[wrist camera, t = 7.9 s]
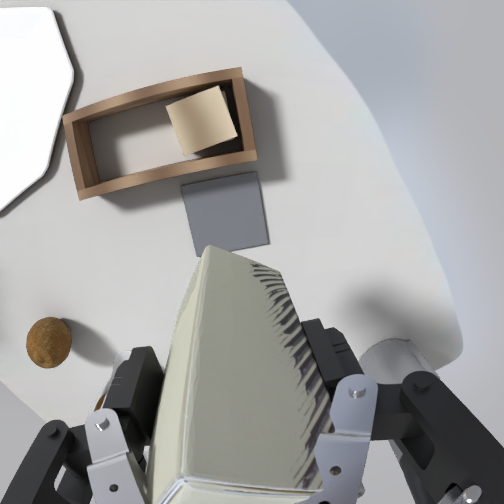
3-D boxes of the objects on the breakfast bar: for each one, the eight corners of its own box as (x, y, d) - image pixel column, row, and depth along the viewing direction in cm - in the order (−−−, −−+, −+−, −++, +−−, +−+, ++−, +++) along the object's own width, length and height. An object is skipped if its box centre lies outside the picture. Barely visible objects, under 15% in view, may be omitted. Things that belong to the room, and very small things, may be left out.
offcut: (219, 89, 27) (218, 85, 25) (236, 136, 29) (237, 136, 27) (170, 108, 27) (165, 106, 25) (188, 154, 29) (184, 156, 27)
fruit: (50, 298, 36) (22, 330, 28) (85, 326, 37) (63, 362, 30) (37, 326, 37) (13, 358, 29) (70, 351, 39) (50, 387, 31)
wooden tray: (239, 75, 29) (241, 66, 25) (253, 157, 32) (257, 160, 28) (78, 117, 28) (62, 115, 25) (94, 193, 31) (79, 200, 28)
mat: (256, 171, 32) (256, 171, 32) (267, 242, 35) (268, 243, 35) (181, 185, 32) (180, 186, 32) (197, 255, 35) (196, 256, 35)
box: (244, 341, 18) (269, 555, 6) (173, 317, 17) (132, 540, 5) (284, 265, 17) (378, 495, 5) (206, 235, 16) (172, 484, 4)
